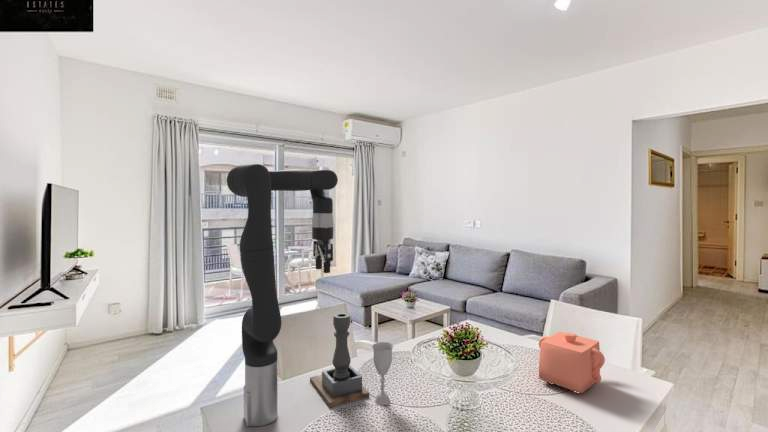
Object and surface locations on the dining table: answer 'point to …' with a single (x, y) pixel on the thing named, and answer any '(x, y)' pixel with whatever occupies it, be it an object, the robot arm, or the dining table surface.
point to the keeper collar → (342, 383)
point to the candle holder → (341, 346)
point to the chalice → (382, 367)
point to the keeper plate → (331, 402)
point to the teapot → (570, 361)
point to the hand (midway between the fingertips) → (322, 271)
